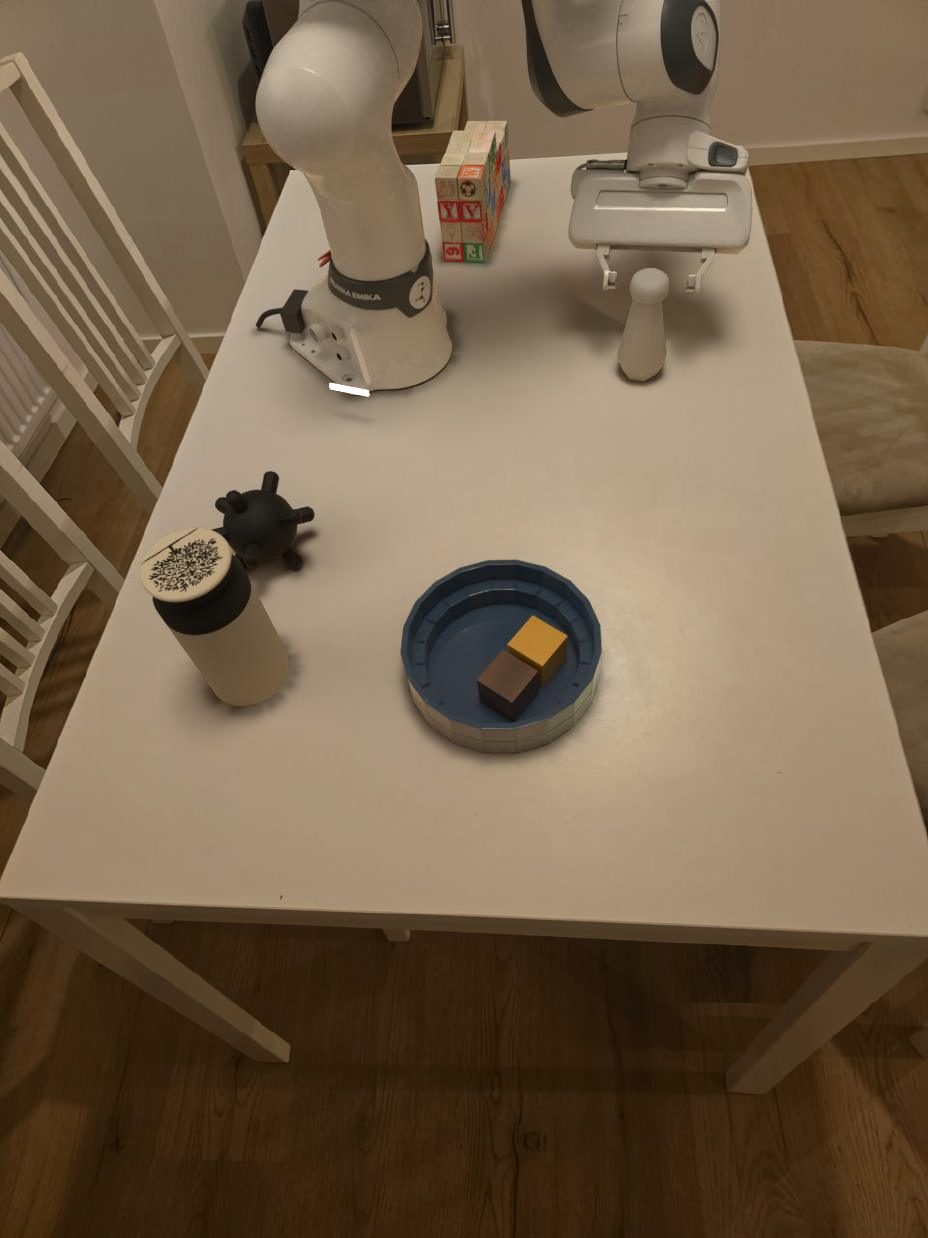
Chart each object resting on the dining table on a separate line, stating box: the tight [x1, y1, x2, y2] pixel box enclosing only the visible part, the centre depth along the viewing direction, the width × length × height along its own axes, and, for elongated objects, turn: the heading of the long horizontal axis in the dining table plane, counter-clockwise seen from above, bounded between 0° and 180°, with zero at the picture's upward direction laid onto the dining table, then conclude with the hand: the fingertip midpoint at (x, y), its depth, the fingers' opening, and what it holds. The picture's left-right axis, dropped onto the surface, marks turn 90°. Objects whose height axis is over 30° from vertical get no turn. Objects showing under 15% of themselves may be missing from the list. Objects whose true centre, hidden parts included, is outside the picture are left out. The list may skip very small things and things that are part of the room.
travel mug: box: [139, 527, 291, 708], centre depth 73 cm, size 8×8×18 cm
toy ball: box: [210, 470, 315, 570], centre depth 85 cm, size 11×11×12 cm
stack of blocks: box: [434, 120, 511, 263], centre depth 117 cm, size 21×6×12 cm, turn 168°
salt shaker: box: [616, 267, 670, 382], centre depth 95 cm, size 6×6×13 cm
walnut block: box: [477, 649, 539, 722], centre depth 74 cm, size 4×4×4 cm
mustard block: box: [507, 615, 568, 687], centre depth 76 cm, size 4×4×4 cm
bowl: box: [400, 559, 603, 754], centre depth 76 cm, size 18×18×6 cm
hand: (650, 291), depth 94 cm, fingers open, 8 cm apart
